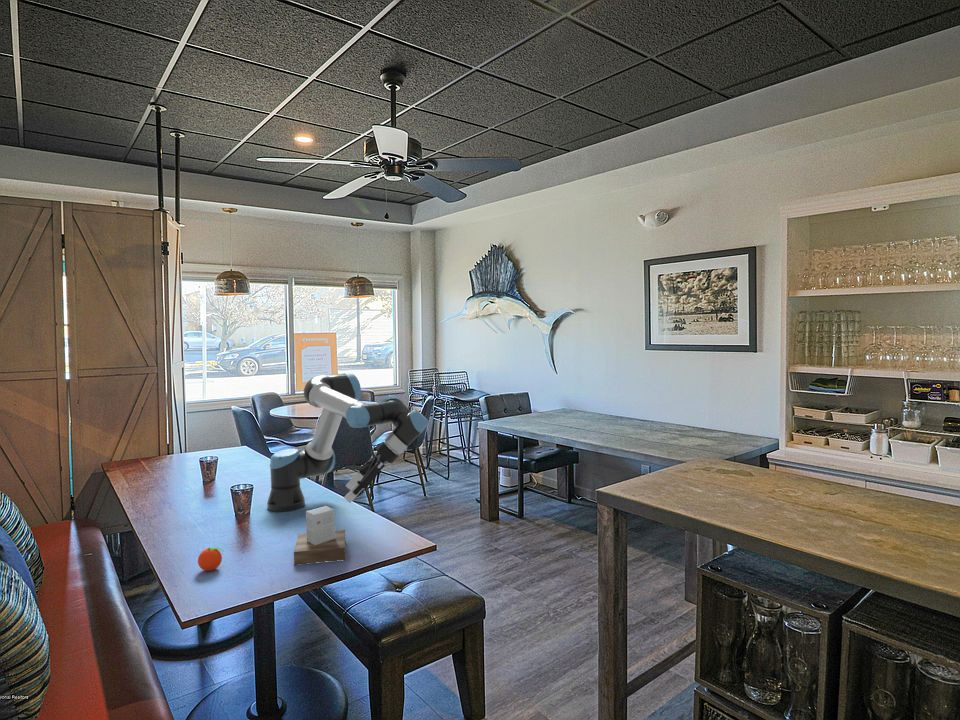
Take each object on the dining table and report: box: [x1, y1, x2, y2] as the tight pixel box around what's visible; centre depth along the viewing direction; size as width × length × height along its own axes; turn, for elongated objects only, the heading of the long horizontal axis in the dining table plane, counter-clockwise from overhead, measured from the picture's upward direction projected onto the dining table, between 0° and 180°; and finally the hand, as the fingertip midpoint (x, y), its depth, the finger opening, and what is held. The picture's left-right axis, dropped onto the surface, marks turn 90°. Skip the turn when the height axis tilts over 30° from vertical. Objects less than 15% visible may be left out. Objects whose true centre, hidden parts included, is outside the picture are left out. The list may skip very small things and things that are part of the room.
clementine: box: [197, 547, 223, 572], centre depth 182 cm, size 8×7×7 cm
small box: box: [305, 505, 336, 545], centre depth 194 cm, size 8×6×10 cm
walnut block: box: [293, 529, 346, 566], centre depth 194 cm, size 16×16×5 cm
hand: (347, 494), depth 194 cm, fingers open, 13 cm apart
